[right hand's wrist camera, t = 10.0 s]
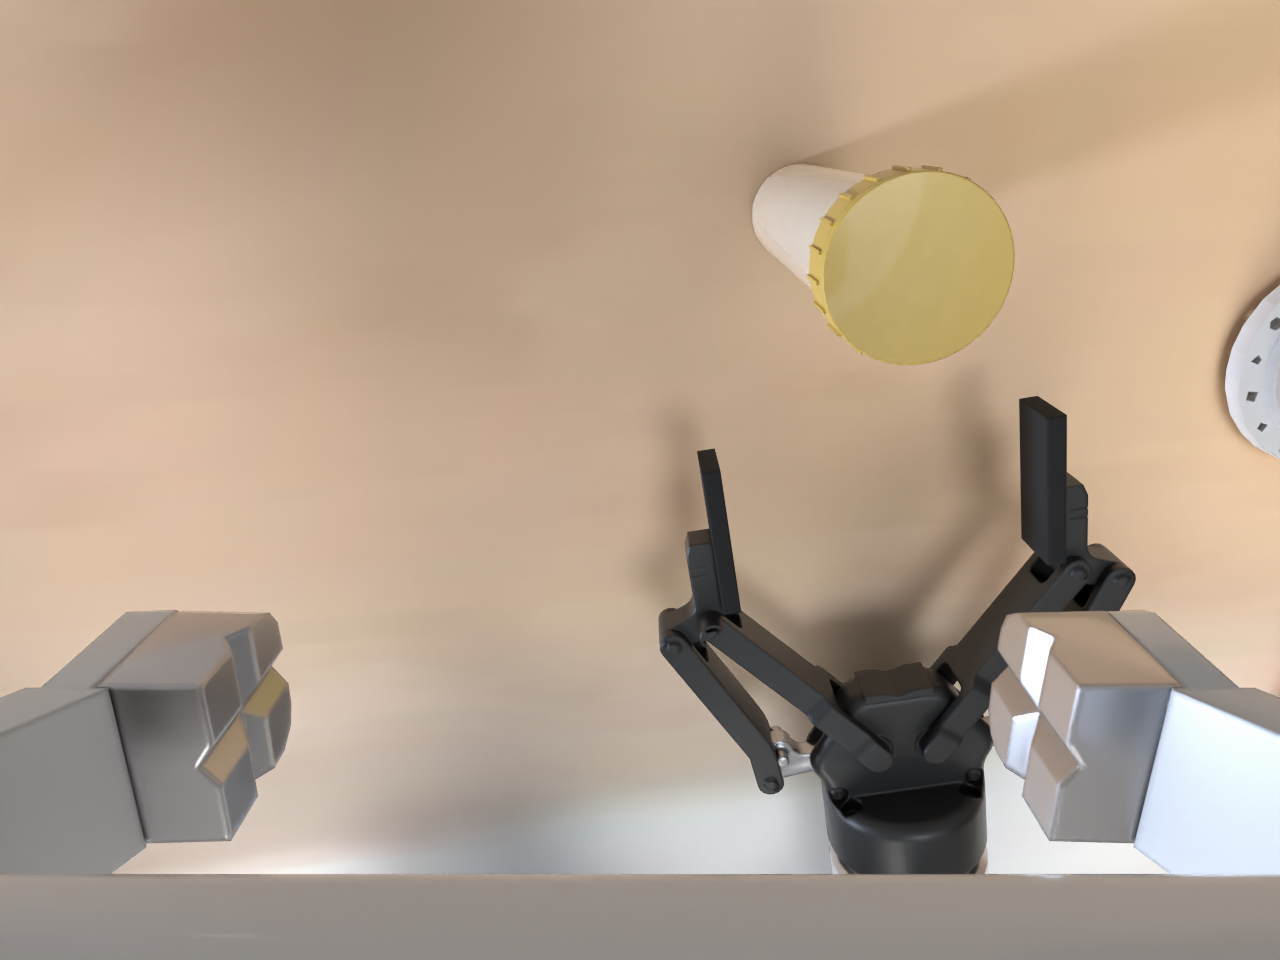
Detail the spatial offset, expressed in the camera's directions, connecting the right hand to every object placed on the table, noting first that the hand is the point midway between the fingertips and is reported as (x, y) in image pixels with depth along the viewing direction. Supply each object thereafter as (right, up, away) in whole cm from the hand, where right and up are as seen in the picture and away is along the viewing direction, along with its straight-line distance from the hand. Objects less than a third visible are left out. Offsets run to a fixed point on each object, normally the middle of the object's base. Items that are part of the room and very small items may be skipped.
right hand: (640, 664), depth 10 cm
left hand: (+10, +4, +26) cm, 28 cm away
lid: (+7, +8, +13) cm, 17 cm away
